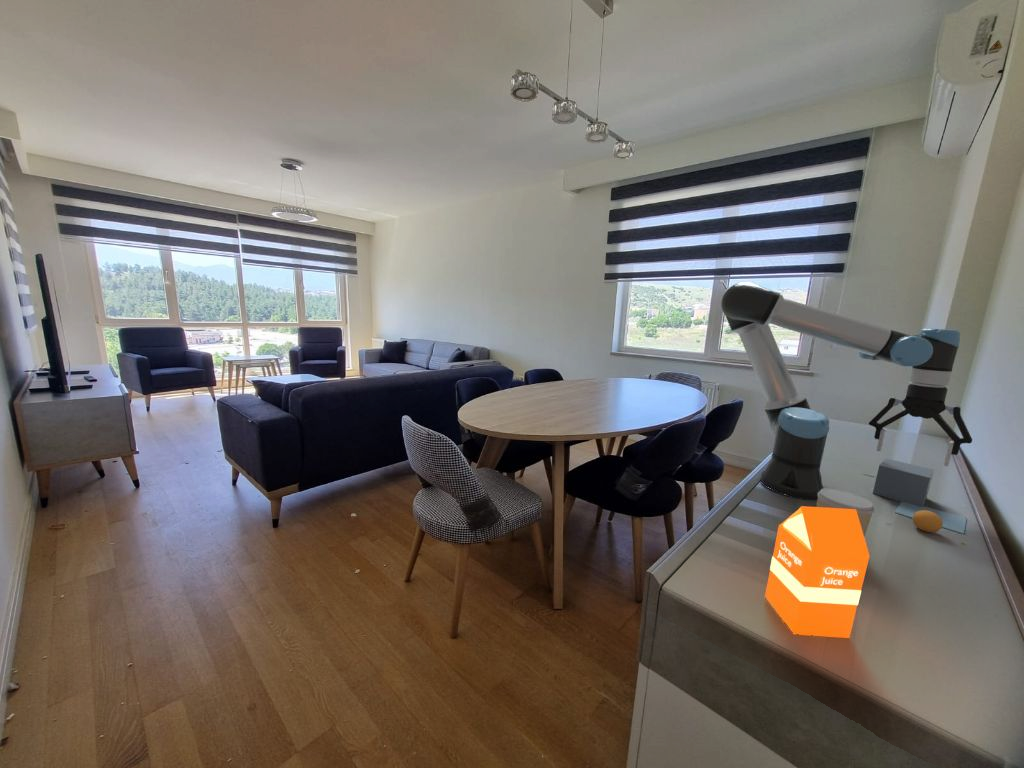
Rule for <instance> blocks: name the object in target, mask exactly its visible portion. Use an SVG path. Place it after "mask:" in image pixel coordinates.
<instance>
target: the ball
mask: <svg viewBox="0 0 1024 768" xmlns="http://www.w3.org/2000/svg"><path fill="white" fill-rule="evenodd" d="M912 522H913V524H914V526H916V528H918V529H919V530H921V531H924V532H928V533H935V532H939V531H940V530H941V529H942V526H943V522H942V519H941V518H940V517H939V516H938V515H937V514H935V513H933V512H931V511H927V510H921V511H918V512H916V513H915V514H914V515H913V518H912Z"/></svg>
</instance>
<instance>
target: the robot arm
mask: <svg viewBox="0 0 1024 768" xmlns="http://www.w3.org/2000/svg"><path fill="white" fill-rule="evenodd" d="M720 304H721V305H720V306H721V311H722V313H723V314H724V315H725V318H726V321H727V323H728V326H729V328H730V331H731V332H733V333H735V334H737V335H739V337H740V340H741V342H742V345H743V348H744V350H745V353H746V355H747V358H748V360H749V362H750V365H751V367H752V369H753V372H754V373H755V376H756V379H757V381H758V383H759V386H760V388H761V390H762V393H763V395H764V398H765V400H766V403H765V404H764V406H763V409H764V411H765V414H766V417H767V419H768V421H769V426H770V428H771V430H772V432H773V433H774V443H773V447H772V452H771V453H772V454H771V458H770V459H769V461H768V463H767V465H766V467H765V468H764V470H763V471H762V472H761V473H760V474H761V475H760V480H761V481H760V483H761V482H762V483H763V484H764V485H765V486H767V487H769V488H771V489H773V490H775V491H777V492H779V493H778V494H780V493H782V494H781V495H783V494H786V495H788V497H790V496H792V497H791V498H794V497H795V499H799V498H802V500H807V499H808V500H812V501H813V500H816V501H817V500H818V496H817V495H818V492H820V490H821V489H825V488H824V486H823V481H822V474H821V465H822V461H823V456H824V452H825V451H824V450H825V447H826V442H827V439H828V438H827V437H828V433H829V431H830V419H829V417H828V416H826V415H825V414H824V413H822V412H818V411H816V410H813V409H811V407H810V404H809V402H808V400H807V397H806V396H805V395H804V394H803V395H802V394H800V393H799V392H798V391H797V389H796V386H795V384H794V381H793V379H792V377H791V374H790V372H789V369H788V367H787V365H786V363H785V359H784V358H783V355H782V352H781V351H780V348H779V346H778V344H777V342H776V339H775V337H774V334H773V332H772V329H771V327H770V324H771V325H773V326H774V325H775V326H778V327H780V328H784V329H787V330H788V331H789V330H790V331H792V332H796V333H799V334H803V335H806V336H808V337H811V338H814V339H818V340H820V341H821V340H822V341H825V342H828V343H830V344H834V345H837V346H840V347H843V348H847V349H849V350H852V351H855V352H858V355H859V357H860V358H861V359H862V360H871V361H884V362H888V363H892V364H896V365H899V366H902V367H911V371H910V376H909V382H910V383H909V384H908V386H907V390H906V394H905V398H904V399H900V398H896V397H895V396H892V397H890V398H889V400H888V401H887V404H886V406H885V407H883V408H882V409H881V410H880V412H878V413H877V414H876V415H875V416H874V417H873V418H872V419H870V421H869V422H868V425H869V426H871V427H874V428H875V433H874V436H873V437H874V439H875V440H878V442H877V447H876V452H881V451H882V450H883V445H884V440H885V436H886V432H887V428H885V427H887V426H890V424H892V423H895V422H896V421H898V420H899V419H901V418H904V417H905V416H908V415H909V416H911V417H915V418H922V419H926V420H927V419H933V420H934V421H935V422H936V423H937V424H938V425H939V427H940V428H941V429H942V430H943V431H944V433H945V434H946V435H947V436H948V437H949V438H950V439H951V440H950V441H949V444H948V448H947V452H946V454H945V455H946V456H945V459H944V463H943V466H944V467H949V464H950V460H951V457H952V455H953V456H957V455H959V451H960V448H961V445H962V444H971V443H972V442H973V438H972V436H971V434H970V431H969V429H968V427H967V426H966V423H965V421H964V419H963V417H962V413H961V412H962V410H961V409H962V408H961V407H962V406H960V405H946V404H945V403H946V402H945V401H946V397H947V393H948V387H947V386H949V385H950V381H951V379H952V378H951V377H952V374H953V368H954V363H955V360H956V357H957V354H958V351H959V350H958V349H959V348H960V347H959V346H960V341H961V340H960V339H961V333H960V330H959V331H958V329H945V328H944V329H943V328H922V329H921V330H920V333H918V334H912V335H911V334H907V333H902V332H899V331H898V330H897V331H896V330H892V329H890V328H887V327H883V326H879V325H876V324H874V323H870V322H866V321H862V320H860V319H856V318H853V317H849V316H847V315H843V314H839V313H836V312H832V311H829V310H825V309H822V308H819V307H814V306H811V305H809V304H806V303H805V304H804V303H802V302H798V301H794V300H791V299H789V298H788V299H787V298H785V297H784V296H783V294H782V293H781V292H777V291H774V290H772V289H770V288H769V289H768V288H766V287H763V286H761V285H760V284H758V283H755V282H750V281H741V282H738V283H737V282H736V283H734V284H732V285H731V286H730V287H728V288H727V290H725V292H724V293H723V295H722V298H721V303H720ZM900 404H901V406H903V407H904V410H901V411H900V412H899V413H896V414H894V415H893V416H891V417H890V418H888V419H886V420H884V421H882V422H881V423H879V420H881V419H882V418H883V417H884V416H885V415H886V414H887V413H888V412H890V410H891V409H892V408H893V407H894V406H895V407H896V406H898V405H900ZM944 411H947V412H948V413H949V414H950V415H952V417H953V419H954V422H955V423H956V425H957V427H958V429H959V432H960V434H961V436H962V437H960V436H959V435H958V434H957V433H956V432H955V431H954V429H953V428H952V427H951V425H949V424H948V423H947V421H946V420H945V419H944V417H943V416H942V415H941V413H943V412H944ZM762 483H761V484H762ZM763 484H762V485H763ZM764 485H763V486H764ZM765 486H764V487H765ZM767 487H766V488H767ZM769 488H768V489H769ZM771 489H770V490H771ZM773 490H772V491H773ZM775 491H774V492H775ZM777 492H776V493H777ZM786 495H785V496H786Z"/></svg>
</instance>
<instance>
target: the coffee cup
mask: <svg viewBox="0 0 1024 768" xmlns="http://www.w3.org/2000/svg"><path fill="white" fill-rule="evenodd" d="M817 496H818V499H816V501H817V502H816V507H823V508H840V509H856V511H857V515H858V518H859V522H860V525H861V528H862V532H863V535H864V537H865V535H866V534H867V532H868V531H867V530H868V528H869V524H870V522H871V518H872V515H873V514H874V512H875V506H874V503H873V502H871V501H870V500H869V499H867V498H865V497H863V496H862V495H859V494H857V493H854V492H851V491H847V490H843V489H837V488H831V487H829V488H828V487H827V488H824V489H821V490H820V492H818V495H817Z"/></svg>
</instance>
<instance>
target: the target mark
mask: <svg viewBox="0 0 1024 768" xmlns="http://www.w3.org/2000/svg"><path fill="white" fill-rule="evenodd" d="M921 510H927V511H931V512H933V513H935V514H937V515H938V516H939V517H940V518H941V519H942V522H943V526H942V528H943V529H945V530H948V531H952V532H955V533H958V534H962V535H964V534H965V529H966V524H967V518H965V517H962V516H958V515H955V514H952V513H948V512H945V511H941V510H937V509H934V508H931V507H928V506H924V505H923V507H920V506H917V505H914V504H910V503H907V502H903V501H902V502H901V501H900V503H899V505H898V507H897V508H896V510H895V512H894V513H895V514H898V515H901V516H904V517H908V518H911V519H913V515H914V514H915V513H916V512H918V511H921ZM942 528H941V529H942Z"/></svg>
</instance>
